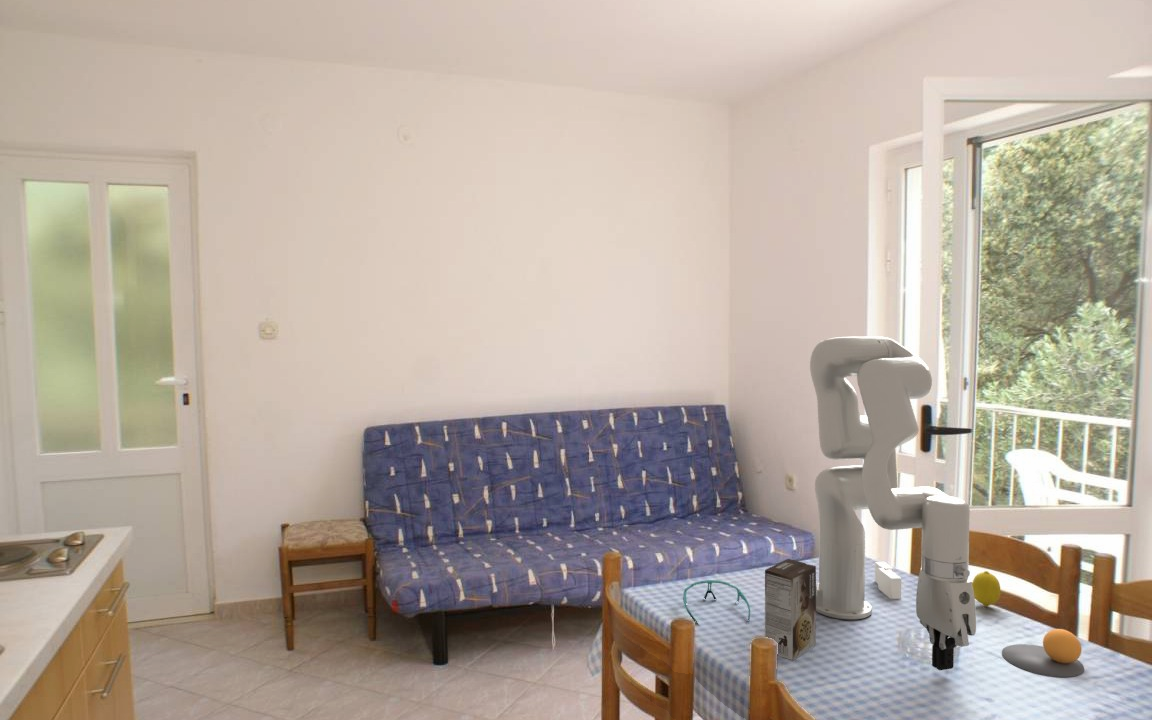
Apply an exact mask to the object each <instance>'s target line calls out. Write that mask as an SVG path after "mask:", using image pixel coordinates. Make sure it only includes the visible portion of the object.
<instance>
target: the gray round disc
mask: <svg viewBox="0 0 1152 720" xmlns="http://www.w3.org/2000/svg"><path fill="white" fill-rule="evenodd" d="M1001 656H1002V657H1003V659H1004V660H1005V661H1007V662H1008V663H1010V664H1011V665H1013V666H1015V667H1017V668H1019V669H1021V670H1024V671H1027V672H1031V673H1034V674H1037V675H1042V676H1047V677H1053V678H1055V677H1056V678H1072V677H1077V676H1080V675H1082V674H1083V673H1084V672H1085V666H1084V664H1083V663H1082V662H1081V661H1080V660H1079V659H1077V660H1076V661H1074V662H1072V663H1060V662H1057V661H1055V660H1053V659H1052V658H1050V657H1049V656H1048V655H1047V653H1046V652H1045V650H1044V647H1043V645H1042V646H1041V645H1037V644H1021V643H1020V644H1018V643H1017V644H1011V645H1007V646H1005V647H1004V648H1002V650H1001Z"/></svg>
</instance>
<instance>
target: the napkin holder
mask: <svg viewBox="0 0 1152 720" xmlns="http://www.w3.org/2000/svg"><path fill="white" fill-rule="evenodd" d="M874 582H875V584H877V588H878V590H880V592H882V593H883V594H884V595H885V596H887V597H888V598H889V599H890V600H901V599H902V578H901V577H900V576H899V575H898V574H897V573H896V572H894V567H892V566H890V565H889V564H888V563H887V562H885V561H875V562H874Z"/></svg>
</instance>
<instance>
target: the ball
mask: <svg viewBox="0 0 1152 720" xmlns="http://www.w3.org/2000/svg"><path fill="white" fill-rule="evenodd" d="M1042 647H1044V650H1045V652H1046V653H1047V655H1048V656H1049V657H1050V658H1052V659H1053V660H1055V661H1057V662H1060V663H1072V662H1074V661H1076V660H1079V658H1080V656H1081V654H1082V645H1081V642H1080V640H1079V638H1077V636H1076V635H1075V634H1074V633H1072V632H1071V631H1068V630H1067V629H1063V628H1053V629H1051V630H1049V631H1047V633H1046V634H1045V635H1044V636H1043V641H1042Z"/></svg>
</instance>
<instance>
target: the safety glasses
mask: <svg viewBox="0 0 1152 720" xmlns="http://www.w3.org/2000/svg"><path fill="white" fill-rule="evenodd" d="M700 584H707V590H706V592H705V594H704V596H703V598H705V599H706V600H707V597H708V595H709V594H711V595H712V597H713V599H716V600H717V598H716V597H717V596H715V594H714V592H713V590H712V584H721V585H726V586H729V587H731V588H732V589H735V590H736V592H737V599H736V602H737V601H738V602H740V598H741V599H742V600H743V601H744V602H745V604H746V606H747V610H748V616H747V620H749V621H750V617H751V607H750V604H749V601H748V600H747V598H746V596H745V595H744V594H743V592H742V591H741V590H740V589H739V588H738V587H737V586H736V585H733V584H731V583H730V582H726V581H722V580H715V579H709V580H708V579H707V580H705V579H704V580H700V581H696V582H694V583H691V584H690V585H689V586H687V587H686V588H685V589H684V591H683V594H682V595H683V597H682V601H683V604H684V607H685V609H686V612H687V613H688V615H689V616H690V618H691V617H692V618H691V619H692V620H693V622H695V621H696V622H698V620H697V619H696V618H695V617H694V615H693V614H692V613H691V611H690V609H689V608H688V605H686V603H688V602H687V591H688V590H689V589H690V588H693V587H694V586H696V585H700Z"/></svg>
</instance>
